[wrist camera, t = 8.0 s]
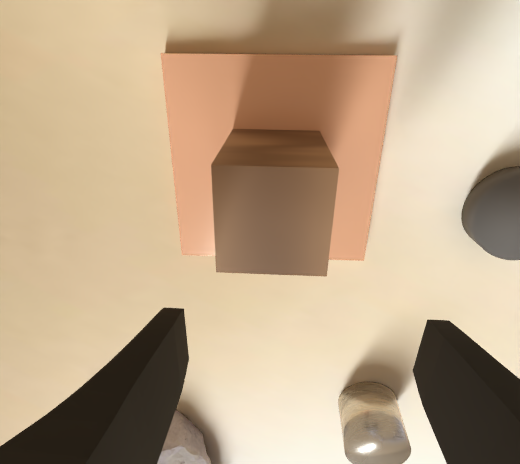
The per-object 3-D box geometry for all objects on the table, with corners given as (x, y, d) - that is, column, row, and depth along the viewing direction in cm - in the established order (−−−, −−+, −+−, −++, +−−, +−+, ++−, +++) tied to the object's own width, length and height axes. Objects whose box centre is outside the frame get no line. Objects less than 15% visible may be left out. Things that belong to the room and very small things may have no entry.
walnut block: (319, 130, 16) (338, 168, 11) (312, 210, 18) (326, 276, 13) (232, 128, 17) (210, 165, 11) (234, 208, 18) (216, 272, 13)
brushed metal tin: (397, 381, 24) (413, 430, 21) (394, 419, 26) (408, 470, 23) (337, 382, 25) (344, 430, 21) (338, 419, 26) (344, 469, 23)
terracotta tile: (393, 55, 15) (397, 55, 15) (361, 255, 20) (363, 260, 19) (164, 53, 16) (160, 53, 15) (184, 249, 20) (181, 254, 20)
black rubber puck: (493, 152, 17) (509, 158, 16) (575, 185, 17) (598, 193, 16) (444, 230, 19) (455, 241, 18) (519, 259, 19) (536, 272, 18)
